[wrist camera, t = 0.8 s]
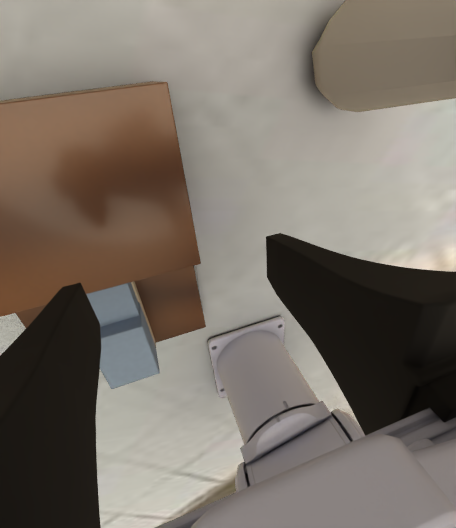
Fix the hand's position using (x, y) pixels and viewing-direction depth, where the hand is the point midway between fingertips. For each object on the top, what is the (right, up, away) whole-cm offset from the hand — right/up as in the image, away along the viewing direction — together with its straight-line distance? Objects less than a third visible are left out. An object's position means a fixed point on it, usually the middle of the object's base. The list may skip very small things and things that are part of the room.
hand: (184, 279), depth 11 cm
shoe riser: (-7, +2, +9) cm, 11 cm away
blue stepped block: (-6, -3, +10) cm, 12 cm away
